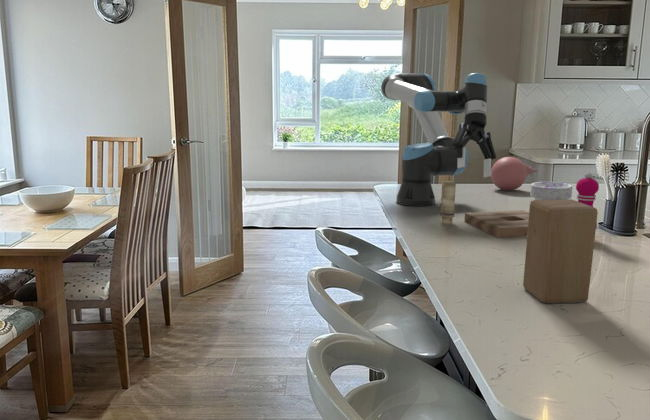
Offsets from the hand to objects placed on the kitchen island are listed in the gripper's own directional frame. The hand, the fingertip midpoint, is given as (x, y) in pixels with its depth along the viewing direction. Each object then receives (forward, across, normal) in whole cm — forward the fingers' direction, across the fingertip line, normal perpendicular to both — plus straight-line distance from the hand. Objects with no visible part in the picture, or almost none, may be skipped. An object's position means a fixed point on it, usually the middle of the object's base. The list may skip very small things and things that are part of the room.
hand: (474, 172), depth 187 cm
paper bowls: (+1, +48, +2) cm, 48 cm away
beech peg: (+20, -10, +3) cm, 22 cm away
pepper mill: (+26, +10, -32) cm, 42 cm away
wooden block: (+48, -36, -52) cm, 79 cm away
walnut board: (+20, +4, -12) cm, 24 cm away
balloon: (-12, +60, +28) cm, 67 cm away
